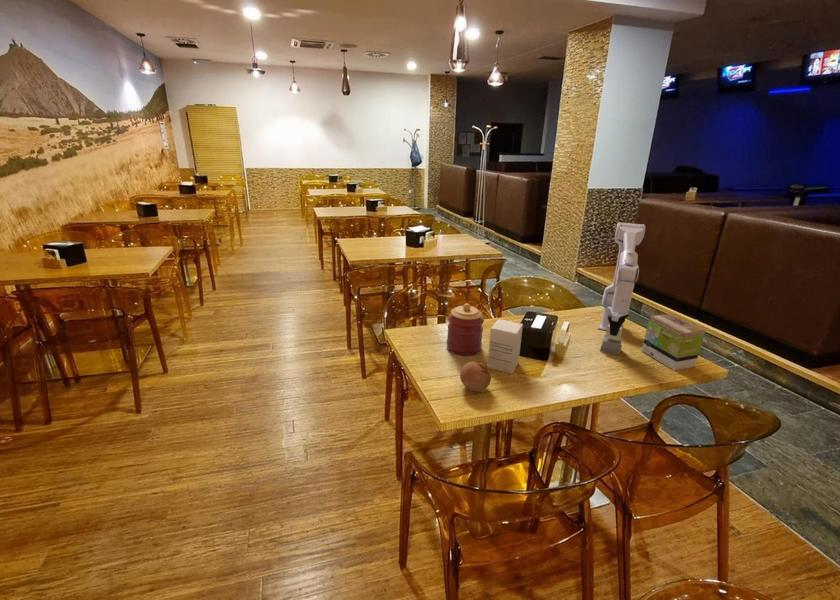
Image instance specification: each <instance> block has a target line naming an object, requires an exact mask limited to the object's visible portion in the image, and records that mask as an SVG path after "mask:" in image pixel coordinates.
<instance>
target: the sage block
mask: <svg viewBox="0 0 840 600" xmlns="http://www.w3.org/2000/svg"><path fill="white" fill-rule="evenodd" d="M623 328H624V324H622V325H621V327H620V329H619V332H618V334H617V336H613V335H610V324H609V325H608V327H607V331H606V332H605V335H606V336H605V338H609V339H613V340H617V341H619V339H620V338H621V337H622V334H623Z"/></svg>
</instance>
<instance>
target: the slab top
mask: <svg viewBox="0 0 840 600" xmlns="http://www.w3.org/2000/svg"><path fill="white" fill-rule="evenodd" d="M605 336H606V334H604V335H603V340H602V343H601V345H602V347H604V348H609V349H614V350H618V351H621V350H620V346H621V345H622V338H621V337H620V339H619V341H617V340H613V339H609V338H605ZM621 347H622V346H621Z"/></svg>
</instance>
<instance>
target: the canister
mask: <svg viewBox="0 0 840 600" xmlns="http://www.w3.org/2000/svg"><path fill="white" fill-rule="evenodd" d="M447 320H448V323H447V336H446V337H447V338H446V348H447V350H448V351H449V352H451V353H453V354H455V355H457V356H459V355H460V356H474V355H476V354H479V353H480V351H481V349H482V346H483V342H482V339H483V332H484V327H483V324H484V321H485V319H484V317H483V313H482V310H479V309H478V308H477V307H475V306H473V305H471V304H469V303H464V304H463V305H458V306H456V307H454V308H452V309H451V310H450V314H449V315H448V317H447Z"/></svg>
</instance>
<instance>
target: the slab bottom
mask: <svg viewBox="0 0 840 600" xmlns="http://www.w3.org/2000/svg"><path fill="white" fill-rule="evenodd" d="M622 346H623V345H622V344H621V346H620V351H621V349H622ZM620 351H618V350H614V349H609V348H604V347H602V344H601V346H600V349H599V352H601V353H604V354H608V355H612V356H615V357H618V356H619V353H620Z"/></svg>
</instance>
